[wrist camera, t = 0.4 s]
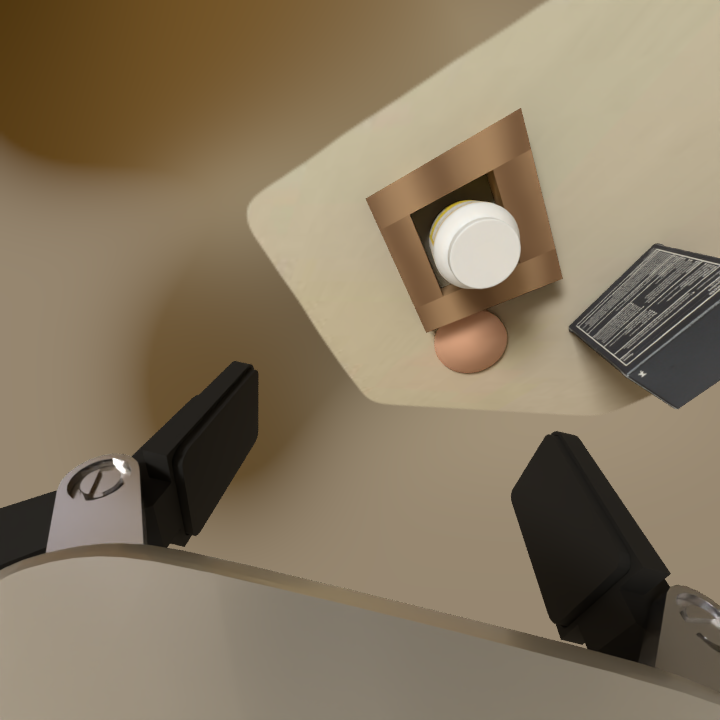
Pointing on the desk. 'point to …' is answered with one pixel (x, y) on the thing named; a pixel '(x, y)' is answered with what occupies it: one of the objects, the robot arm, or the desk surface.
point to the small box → (660, 324)
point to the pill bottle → (475, 244)
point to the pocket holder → (510, 190)
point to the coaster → (471, 342)
